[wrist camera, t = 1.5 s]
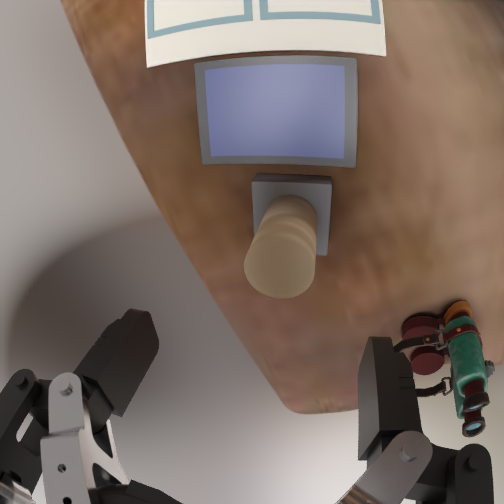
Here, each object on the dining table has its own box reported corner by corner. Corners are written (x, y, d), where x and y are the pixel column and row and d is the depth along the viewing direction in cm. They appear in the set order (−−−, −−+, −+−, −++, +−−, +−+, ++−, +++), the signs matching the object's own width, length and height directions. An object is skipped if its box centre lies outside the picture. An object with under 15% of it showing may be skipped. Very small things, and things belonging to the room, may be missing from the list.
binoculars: (372, 421, 17) (510, 385, 12) (376, 318, 25) (477, 285, 20) (394, 458, 20) (496, 433, 15) (397, 371, 28) (480, 346, 23)
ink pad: (354, 60, 15) (357, 57, 14) (353, 163, 18) (356, 169, 17) (201, 64, 17) (192, 62, 16) (208, 160, 20) (200, 165, 19)
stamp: (330, 176, 19) (336, 225, 12) (326, 241, 22) (326, 314, 15) (257, 173, 20) (223, 219, 13) (260, 237, 23) (232, 305, 16)
